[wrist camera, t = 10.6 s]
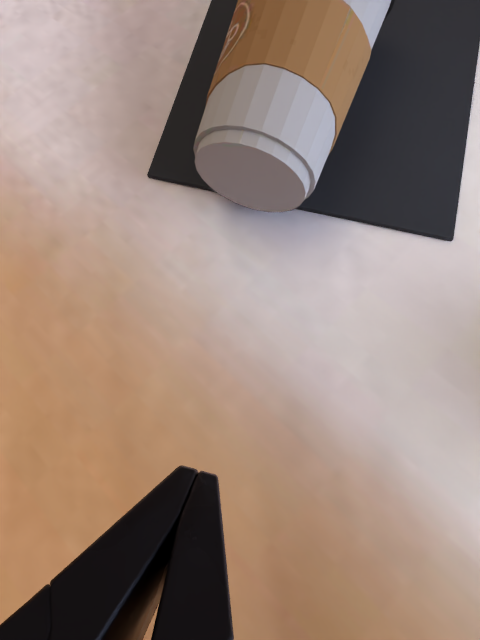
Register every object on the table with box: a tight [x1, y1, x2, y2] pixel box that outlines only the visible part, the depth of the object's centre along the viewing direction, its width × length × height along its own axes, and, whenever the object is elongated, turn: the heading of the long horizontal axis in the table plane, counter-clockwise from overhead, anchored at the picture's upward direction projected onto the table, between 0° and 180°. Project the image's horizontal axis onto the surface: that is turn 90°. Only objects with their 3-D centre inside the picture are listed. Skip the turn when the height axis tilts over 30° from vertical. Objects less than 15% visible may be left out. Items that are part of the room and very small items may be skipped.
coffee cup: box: [193, 0, 395, 212], centre depth 23 cm, size 8×8×15 cm
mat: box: [147, 0, 480, 241], centre depth 29 cm, size 22×18×1 cm
